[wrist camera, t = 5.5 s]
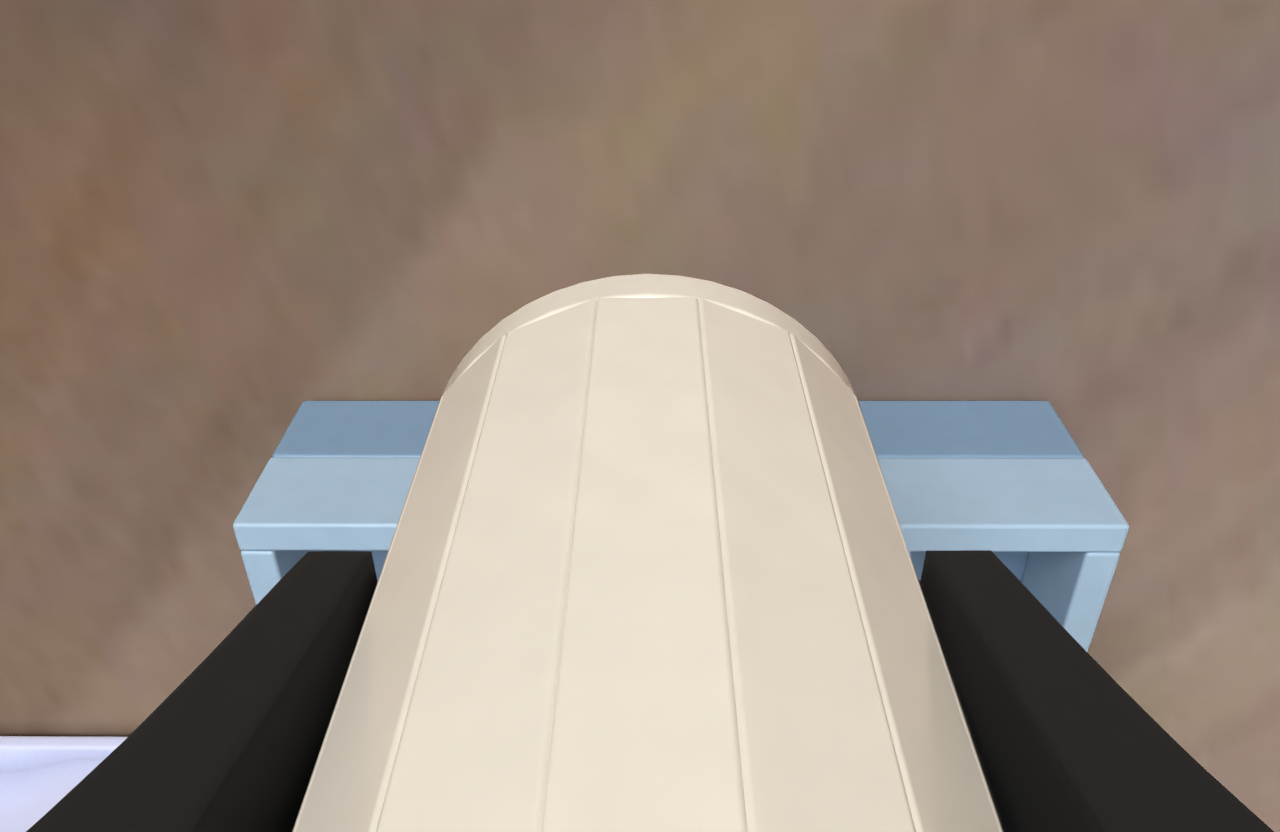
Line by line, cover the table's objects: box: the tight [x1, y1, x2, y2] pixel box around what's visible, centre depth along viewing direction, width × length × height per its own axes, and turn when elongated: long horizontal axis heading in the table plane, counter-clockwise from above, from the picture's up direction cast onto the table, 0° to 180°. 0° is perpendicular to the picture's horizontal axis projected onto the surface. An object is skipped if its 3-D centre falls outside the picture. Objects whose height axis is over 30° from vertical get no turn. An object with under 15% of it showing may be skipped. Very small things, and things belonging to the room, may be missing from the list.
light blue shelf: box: [233, 401, 1129, 652], centre depth 20 cm, size 15×11×6 cm
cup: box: [292, 274, 1005, 832], centre depth 9 cm, size 5×5×7 cm
